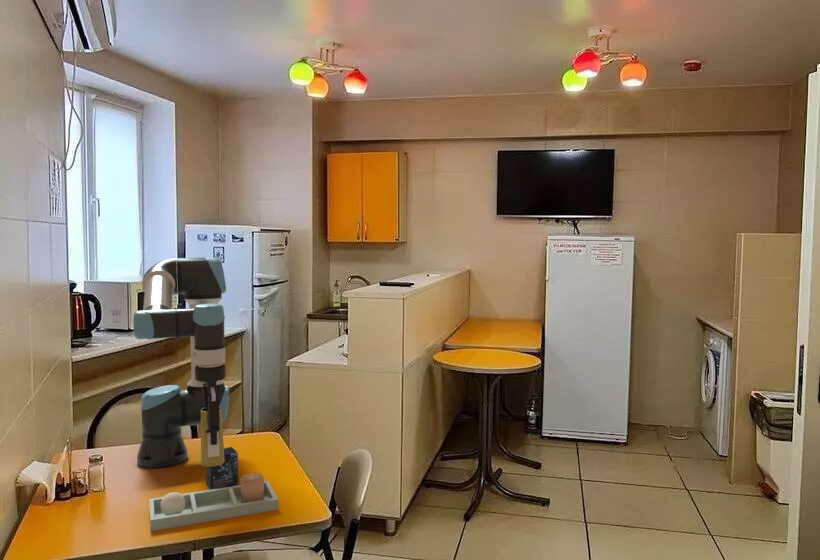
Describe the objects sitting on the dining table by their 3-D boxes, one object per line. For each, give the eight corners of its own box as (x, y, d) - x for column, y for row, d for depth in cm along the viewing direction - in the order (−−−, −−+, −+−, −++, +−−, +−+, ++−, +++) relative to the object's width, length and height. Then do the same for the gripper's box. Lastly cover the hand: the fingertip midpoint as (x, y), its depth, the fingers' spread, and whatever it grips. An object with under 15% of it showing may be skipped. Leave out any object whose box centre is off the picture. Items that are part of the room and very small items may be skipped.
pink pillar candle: (239, 500, 174) (239, 475, 174) (261, 496, 176) (261, 471, 176) (242, 509, 169) (242, 483, 168) (266, 505, 171) (265, 479, 170)
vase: (202, 468, 163) (201, 413, 162) (198, 460, 169) (196, 407, 168) (226, 464, 166) (225, 410, 165) (222, 457, 172) (220, 404, 171)
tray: (149, 511, 169) (149, 499, 169) (268, 492, 181) (268, 480, 181) (150, 534, 157) (150, 520, 156) (278, 512, 169) (278, 499, 168)
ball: (160, 513, 166) (159, 490, 166) (184, 509, 169) (184, 486, 168) (161, 522, 161) (160, 499, 160) (186, 518, 163) (185, 495, 163)
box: (211, 493, 180) (210, 457, 180) (205, 487, 185) (204, 451, 184) (239, 487, 185) (238, 451, 184) (232, 481, 189) (231, 446, 189)
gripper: (191, 358, 173) (194, 443, 174) (197, 372, 155) (200, 466, 157) (220, 356, 176) (222, 439, 177) (229, 370, 158) (232, 462, 160)
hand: (212, 451), depth 167 cm, fingers closed on vase, 6 cm apart
